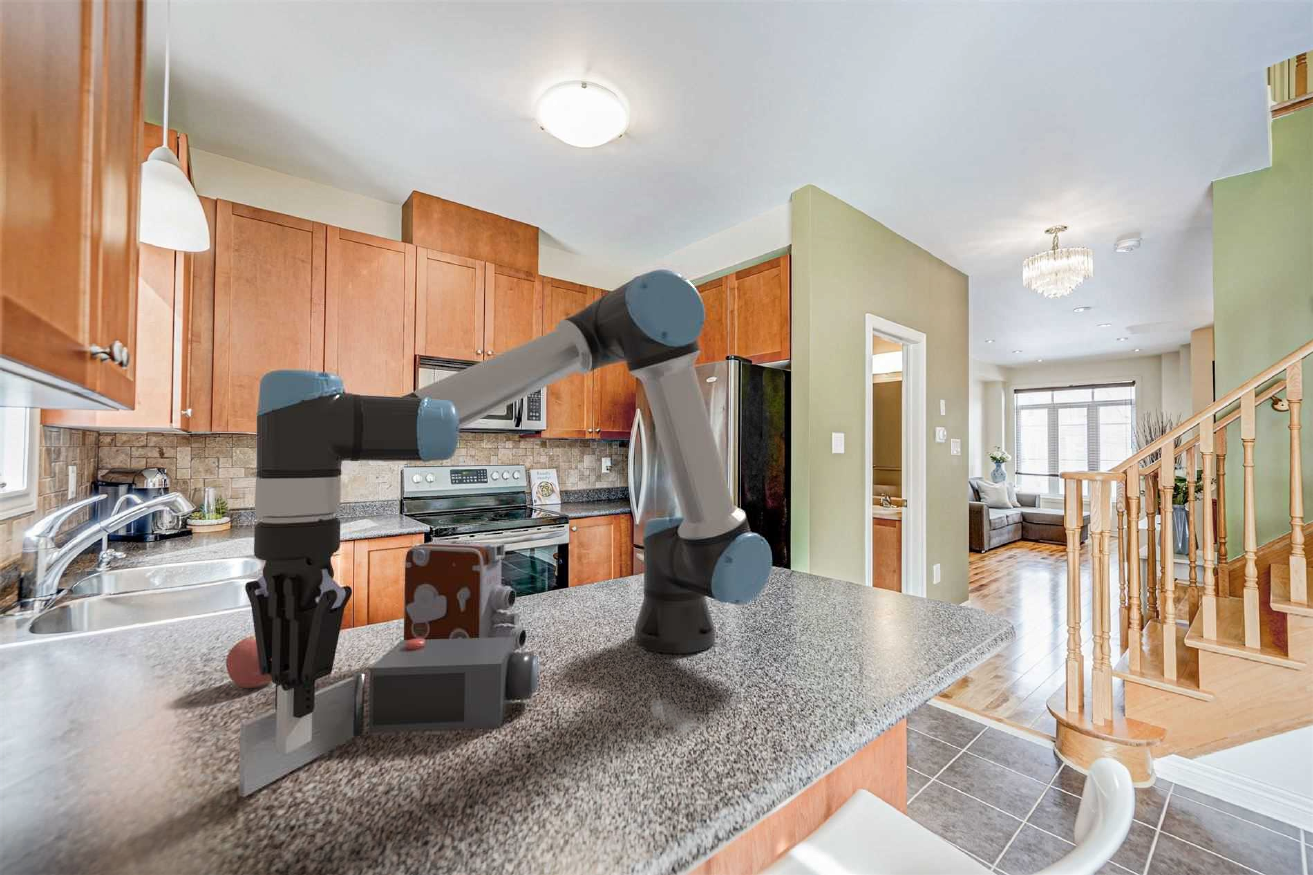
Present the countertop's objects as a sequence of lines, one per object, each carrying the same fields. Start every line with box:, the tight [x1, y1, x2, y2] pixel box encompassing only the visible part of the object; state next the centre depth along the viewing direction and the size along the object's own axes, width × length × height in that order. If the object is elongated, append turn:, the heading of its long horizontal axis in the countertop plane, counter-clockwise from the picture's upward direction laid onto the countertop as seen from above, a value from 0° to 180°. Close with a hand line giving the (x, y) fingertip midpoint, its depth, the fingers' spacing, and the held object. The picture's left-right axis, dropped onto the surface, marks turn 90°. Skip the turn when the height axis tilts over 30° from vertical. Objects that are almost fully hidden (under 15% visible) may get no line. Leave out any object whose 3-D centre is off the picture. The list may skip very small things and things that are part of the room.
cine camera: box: [403, 540, 527, 650], centre depth 88 cm, size 9×19×20 cm, turn 78°
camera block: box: [368, 637, 539, 735], centre depth 71 cm, size 20×10×9 cm, turn 95°
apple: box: [225, 635, 272, 689], centre depth 79 cm, size 7×7×8 cm
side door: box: [238, 671, 366, 798], centre depth 59 cm, size 13×2×7 cm, turn 158°
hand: (293, 745), depth 55 cm, fingers closed
